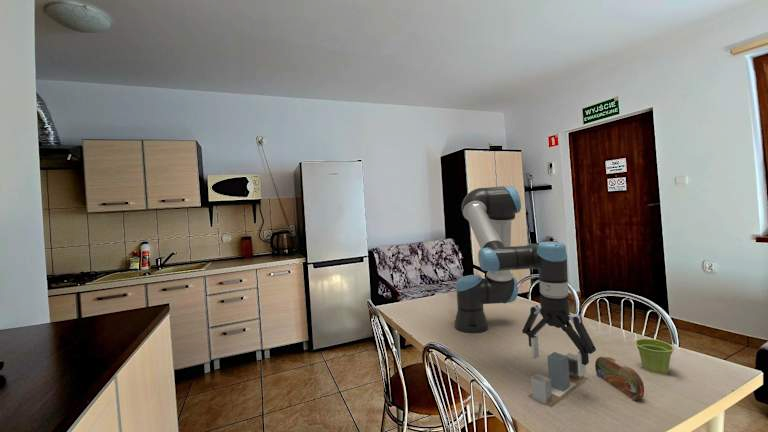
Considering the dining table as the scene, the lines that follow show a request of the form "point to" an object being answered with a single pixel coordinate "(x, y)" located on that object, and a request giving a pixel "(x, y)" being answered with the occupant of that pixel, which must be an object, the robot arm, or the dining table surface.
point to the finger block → (558, 371)
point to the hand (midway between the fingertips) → (557, 365)
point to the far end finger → (573, 366)
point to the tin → (620, 377)
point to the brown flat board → (559, 395)
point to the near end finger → (541, 388)
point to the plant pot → (655, 355)
